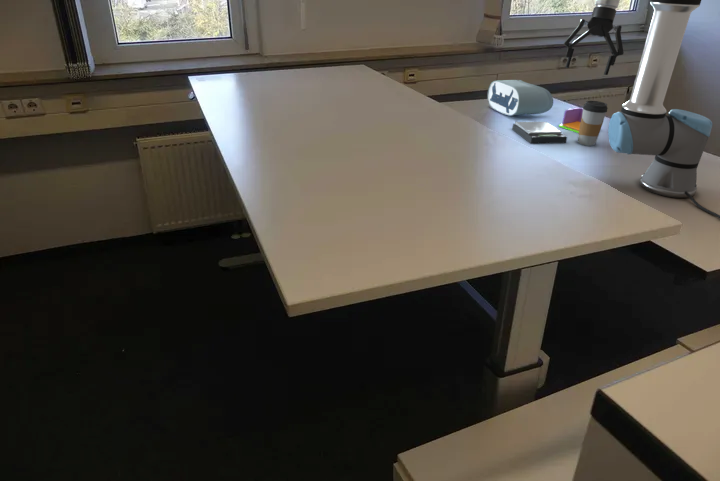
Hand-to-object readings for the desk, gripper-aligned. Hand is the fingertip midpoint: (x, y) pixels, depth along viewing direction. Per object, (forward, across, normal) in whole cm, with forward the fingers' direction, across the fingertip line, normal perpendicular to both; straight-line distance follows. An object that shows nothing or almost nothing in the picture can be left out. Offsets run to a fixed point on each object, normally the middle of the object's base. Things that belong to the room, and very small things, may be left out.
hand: (586, 71), depth 190 cm
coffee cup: (+25, -8, -1) cm, 26 cm away
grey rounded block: (+20, +16, -37) cm, 45 cm away
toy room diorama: (+21, -8, -20) cm, 30 cm away
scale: (+26, +9, -4) cm, 28 cm away
